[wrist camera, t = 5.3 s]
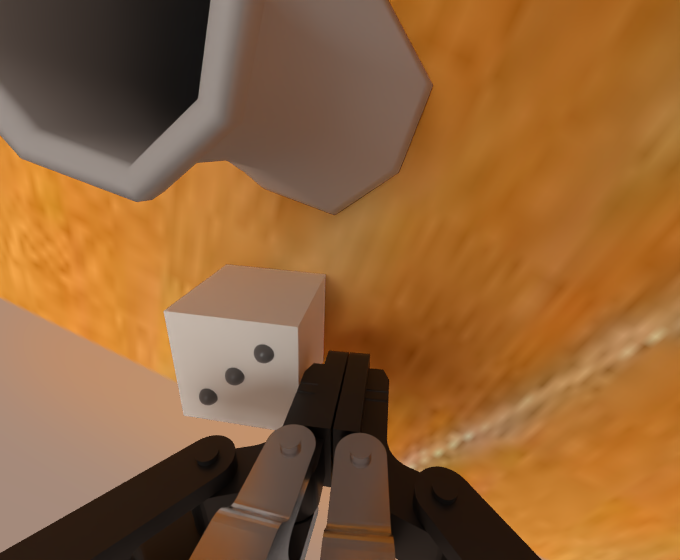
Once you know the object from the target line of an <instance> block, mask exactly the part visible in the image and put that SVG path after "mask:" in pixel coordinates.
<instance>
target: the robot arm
mask: <svg viewBox="0 0 680 560" xmlns="http://www.w3.org/2000/svg"><path fill="white" fill-rule="evenodd" d="M388 393H389V379H388V377H387V376H386V374H385V372H384V370H380V369H370V354H362V353H351V352H350V355H349V352H340V351H329V352H328V355H327V358H326V361H325V364H319V363H313V364H312V365H311V366H310V367H309V368H308V369H307V370H306V371H305V372H304V374H303V377H302V379H301V382H300V384H299V387H298V389H297V393H296V394H295V397H294V399H293V402H292V404H291V406H290V409H289V411H288V414H287V416H286V419H285V421H284V424H283V426H282V427H280V428H278V429H277V430H275V431H274V432H273V433H272V434H271V435H270V436H269V438H268V439H267V441H266V442H265V443H262V444H259V445H255V446H249V447H243V448H236V449H235V446H234V443H233V442H232V441H231V440H230V439H229V438H227V437H224V436H219V435H215V436H209V437H205V438H202V439H200V440H198V441H197V442H195V443H193V444H191V445H190V446H188V447H186V448H184V449H182V450H181V451H179V452H177V453H175V454H174V455H172V456H170V457H168V458H167V459H165V460H163V461H161V462H160V463H158V464H156V465H154V466H153V467H151V468H149V469H147V470H146V471H144V472H142V473H140V474H138V475H137V476H135V477H133V478H132V479H130V480H128V481H127V482H124V483H123V484H121V485H119V486H118V487H116V488H114V489H112V490H110V491H109V492H107V493H105V494H103V495H102V496H100V497H98V498H96V499H94V500H93V501H91V502H89V503H88V504H86V505H84V506H82V507H80V508H79V509H77V510H75V511H73V512H72V513H70V514H68V515H66V516H65V517H63V518H61V519H59V520H58V521H56V522H54V523H52V524H50V525H49V526H47V527H45V528H43V529H42V530H40V531H38V532H36V533H35V534H33V535H31V536H29V537H28V538H26V539H24V540H22V541H21V542H19V543H17V544H15V545H13V546H12V547H10V548H8V549H6V550H5V551H3V552H1V553H0V560H305V556H306V553H307V549H308V546H309V542H310V539H311V535H312V532H313V528H314V525H315V521H316V518H317V514H318V505H319V501H320V496H321V492H322V487H323V486H327V487H331V492H330V501H329V510H328V519H327V526H326V528H325V530H324V534H323V541H322V549H321V557H320V560H395V558H396V559H398V560H541V559H540V558H539V557H538V556H537V555H536V554H535V553H534V551H533V550H532V549H531V548H530V547H529V546H528V545H527V544H526V543H525V542H524V541H523V540H522V539H521V538H520V537H519V536H518V535H517V534H516V533H515V532H514V531H513V529H512V528H511V527H510V526H509V525H508V524H507V523H506V522H505V521H504V520H503V519H502V518H501V517H500V516H499V515H498V514H497V513H496V512H495V511H494V510H493V509H492V508H491V506H490V505H489V504H488V503H487V502H486V501H485V500H484V499H483V498H482V497H481V496H480V495H479V494H478V493H477V492H476V491H475V490H474V489H473V488H472V487H471V486H470V485H469V483H468V482H467V481H466V480H465V479H464V478H463V477H461V476H460V475H459V474H457V473H456V472H454V471H452V470H450V469H448V468H444V467H430V468H427V469H424V470H423V471H422V472H418V471H416V470H414V469H411V468H409V467H407V466H405V465H403V464H402V463H401V462H399V461H398V460H397V459H396V458H395V457H394V456H393V455H392V453H391V451H390V450H389V447H388V444H387V422H388Z"/></svg>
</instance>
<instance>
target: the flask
mask: <svg viewBox="0 0 680 560" xmlns="http://www.w3.org/2000/svg"><path fill="white" fill-rule="evenodd" d="M432 87H433V84H432V82H431V80H430V78H429V77H428V75H427V73H426V71H425V69H424V67H423V65H422V63H421V61H420V59H419V58H418V56H417V54H416V52H415V50H414V48H413V46H412V44H411V42H410V41H409V39H408V37H407V35H406V33H405V31H404V29H403V27H402V25H401V23H400V22H399V20H398V18H397V16H396V14H395V12H394V10H393V8H392V6H391V4H390V3H389V1H388V0H0V135H1V137H2V138H3V139H4V140H5V141H6V142H7V143H8V144H9V145H10V147H11V148H12V149H13V150H14V151H15V152H16V153H17V154H18V156H19V157H20V158H22V159H24V160H27V161H29V162H32V163H35V164H37V165H40V166H43V167H45V168H48V169H51V170H53V171H56V172H59V173H61V174H64V175H67V176H69V177H72V178H75V179H77V180H80V181H82V182H85V183H88V184H90V185H93V186H96V187H98V188H101V189H104V190H106V191H109V192H112V193H114V194H117V195H120V196H122V197H125V198H128V199H130V200H133V201H135V202H140V201H147V200H152V199H154V198H155V197H157V196H158V195H160V194H161V193H163V192H164V191H165V190H166V189H168V188H169V187H170V186H171V185H172V184H173V183H174V182H175V181H177V180H178V179H179V178H180V177H181V176H182V175H183V174H185V173H186V172H187V171H188V170H189V169H190V168H191V167H192V166H194V165H195V164H196V163H200V162H212V161H224V160H226V161H229V162H230V163H232V164H233V165H235V166H236V167H238V168H239V169H240V170H242V171H243V172H245V173H246V174H247V175H248V176H250V177H251V178H252V179H253V180H254V181H255V182H257V183H258V184H259V185H260V186H261V187H263V188H264V189H266V190H269V191H271V192H274V193H277V194H279V195H282V196H285V197H287V198H290V199H293V200H295V201H298V202H301V203H303V204H306V205H309V206H311V207H314V208H317V209H319V210H322V211H325V212H327V213H330V214H333V215H335V214H337V213H338V212H340V211H341V210H343V209H344V208H346V207H347V206H349V205H350V204H352V203H353V202H355V201H356V200H358V199H359V198H361V197H362V196H364V195H365V194H367V193H368V192H370V191H371V190H373V189H375V188H376V187H378V186H379V185H381V184H382V183H384V182H385V181H387V180H388V179H390V178H391V177H393V176H394V175H396V174H397V173H399V170H400V168H401V165H402V163H403V160H404V158H405V155H406V153H407V150H408V148H409V145H410V142H411V140H412V137H413V135H414V132H415V130H416V127H417V125H418V122H419V120H420V117H421V115H422V112H423V110H424V107H425V104H426V102H427V99H428V97H429V94H430V92H431V89H432Z"/></svg>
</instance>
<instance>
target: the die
mask: <svg viewBox="0 0 680 560" xmlns="http://www.w3.org/2000/svg"><path fill="white" fill-rule="evenodd" d="M325 279H326V274H318V273H308V272H298V271H288V270H278V269H268V268H258V267H248V266H238V265H228V264H226V265H225V266H224V267H222V268H221V269H220V270H218V271H217V272H216V273H214V274H213V275H212V276H210V277H209V278H208V279H206V280H205V281H203V282H202V283H201V284H199V285H198V286H197V287H195V288H194V289H193V290H191V291H190V292H189V293H187V294H186V295H185V296H183V297H182V298H180V299H179V300H178V301H176V302H175V303H174V304H172V305H171V306H170V307H168V308H167V309H166V310H164V315H165V320H166V326H167V331H168V336H169V341H170V346H171V352H172V357H173V362H174V367H175V373H176V378H177V383H178V388H179V393H180V398H181V403H182V409H183V414H184V415H185V416H191V417H197V418H203V419H209V420H216V421H222V422H228V423H234V424H240V425H246V426H252V427H259V428H265V429H271V430H277V429H278V428H280V427H282V426H283V424H284V421H285V419H286V416H287V414H288V411H289V409H290V406H291V404H292V402H293V399H294V397H295V394H296V393H297V389H298V387H299V384H300V382H301V379H302V377H303V374H304V372H305V371H306V370H307V369H308V368H309V367H310V366H311V365H312V364H313V363H319V364H322V363H323V353H324V316H325Z"/></svg>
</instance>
